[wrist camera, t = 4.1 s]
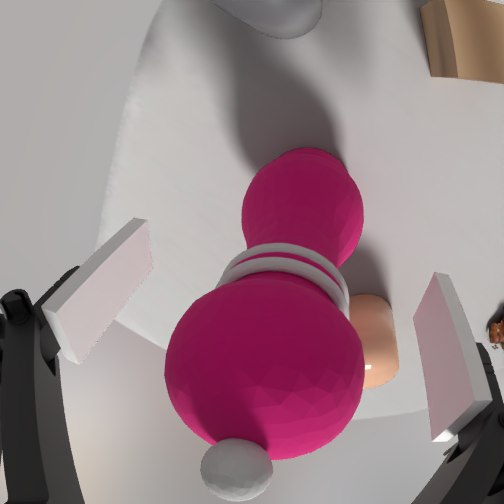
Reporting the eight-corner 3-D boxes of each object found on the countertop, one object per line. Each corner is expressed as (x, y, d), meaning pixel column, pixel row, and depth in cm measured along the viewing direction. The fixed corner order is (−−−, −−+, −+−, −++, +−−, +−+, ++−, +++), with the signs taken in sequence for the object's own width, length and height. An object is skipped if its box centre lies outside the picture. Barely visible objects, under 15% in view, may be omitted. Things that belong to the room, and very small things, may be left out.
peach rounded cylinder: (401, 299, 25) (410, 350, 20) (380, 342, 28) (383, 392, 23) (341, 288, 26) (339, 340, 21) (326, 333, 29) (321, 383, 24)
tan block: (481, 17, 12) (514, 8, 8) (491, 82, 14) (527, 87, 10) (419, 8, 13) (442, -8, 9) (430, 76, 16) (458, 77, 12)
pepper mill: (311, 119, 19) (183, 393, 3) (378, 196, 21) (431, 510, 5) (239, 184, 23) (61, 433, 7) (304, 250, 25) (239, 524, 8)
